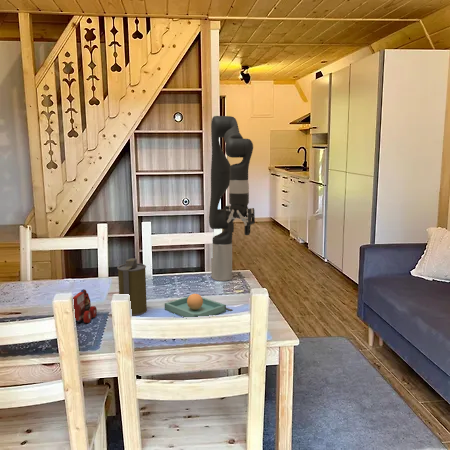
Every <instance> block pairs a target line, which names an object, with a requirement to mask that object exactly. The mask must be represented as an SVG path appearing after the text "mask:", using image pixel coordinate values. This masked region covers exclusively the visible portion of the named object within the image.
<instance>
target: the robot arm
mask: <svg viewBox="0 0 450 450" xmlns="http://www.w3.org/2000/svg"><path fill="white" fill-rule="evenodd" d="M238 124H239V123H238V121H237V119H236V118H235V117H234V116H232V115H214V116H213V117H212V118H211V124H210V126H211V127H210V128H211V129H210V130H211V134H210V135H211V164H210V165H211V166H210V201H209V202H210V203H209V212H208V213H209V214H208V222H209V223H208V224H209V227H210V228H211V230H222V232H221V233H219V234H216V235H214V236H213V237H212V258H211V261H210V263H211V265H210V268H211V272H210V275H211V278H212V279H213V280H214V281H220V282H223V281H224V282H225V281H231V280H232V279H233V233H234V231H235V225H234V224H235V223H234V221H235V220H236V219H240V221H242V222H243V224H244V236H250V234H251V225H254V224H255V223H256V218H255V217H256V216H255V208H254V207H251V208H249V206H248V205H249V204H250V185H249V166H250V164H251V163H250V162H251V158H252V155H253V150H254V144H253V143H254V142H253V141H252V140H251V139H249V138H244V137H243V136H242V134H241V133H240V128H239V126H238ZM220 138H221V139H222V138H223V140H224V144H225V145H224V151H225V153H224V151H223V149H222V147H221V145H220ZM228 158H236V159H237V158H242V160H241V161H240V162H238V163H234V164H230V161H229V160H228ZM227 190H228V191H229V192H228V194H229V195H228V198H229V199H228V200H229V201H228V203H229V205H225V206H224V207H223V208H219V204H220V201H221V199H222V197H223V196H224V194H225V193H226V191H227Z"/></svg>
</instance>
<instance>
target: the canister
mask: <svg viewBox="0 0 450 450" xmlns="http://www.w3.org/2000/svg"><path fill="white" fill-rule="evenodd" d="M137 260H138V259H137V258H136V257H135V258H134V257H133V258H128V259H126V260H125V263H124V264H123V263H122V264H119V265H118V266H117V267H116V268H117V271H118V272H117V274H118V275H117V276H118V278H117V281H118V295H119V294H129V295H130V301H131V309H132V316H131V317H137V316H141V315H144V314H145V313H147V312H148V307H147V306H148V305H147V277H146V276H147V275H146V268H147V265H145V264H143V263H139V262H137Z"/></svg>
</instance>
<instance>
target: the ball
mask: <svg viewBox="0 0 450 450" xmlns="http://www.w3.org/2000/svg"><path fill="white" fill-rule="evenodd" d="M187 297H188V296H187ZM202 297H203V296H202V295H200V294H198V293H191V294H189V297H188V299H187V305H188V307H189V308H191V309H193V310H197V309H199V308H201V306H202V304H203V299H202Z"/></svg>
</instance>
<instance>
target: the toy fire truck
mask: <svg viewBox="0 0 450 450" xmlns="http://www.w3.org/2000/svg"><path fill="white" fill-rule="evenodd" d="M73 299H74V305H73V310H74V309H75V318H76V321H77V322H79V321H82V320H83V322H84V324H88V323H90V322H91V320H92V318H93V319H94V318H95V317H96V316H97V311H98V310H97V306H94V305H92V304H91V299H90V295H89V292H87V290H86V289H81V290H80V291H79V292H78V293H77V294H75V295H74V296H73V297H72V300H73ZM76 321H75V322H76Z"/></svg>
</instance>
